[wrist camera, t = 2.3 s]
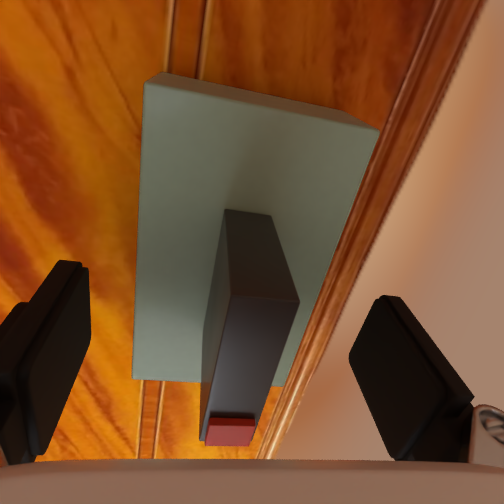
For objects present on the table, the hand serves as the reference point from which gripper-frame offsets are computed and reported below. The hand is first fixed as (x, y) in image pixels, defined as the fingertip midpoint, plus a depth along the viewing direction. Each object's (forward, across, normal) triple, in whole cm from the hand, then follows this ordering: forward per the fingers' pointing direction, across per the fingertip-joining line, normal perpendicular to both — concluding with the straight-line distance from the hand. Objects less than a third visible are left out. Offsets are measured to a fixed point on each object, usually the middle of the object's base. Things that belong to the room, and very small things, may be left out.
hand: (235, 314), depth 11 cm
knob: (+2, 0, 0) cm, 2 cm away
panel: (+5, 0, 0) cm, 5 cm away
